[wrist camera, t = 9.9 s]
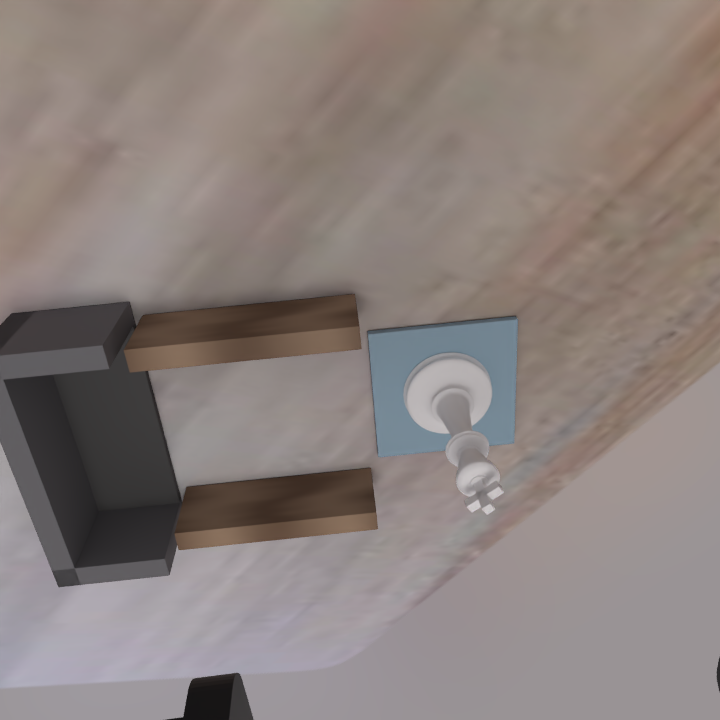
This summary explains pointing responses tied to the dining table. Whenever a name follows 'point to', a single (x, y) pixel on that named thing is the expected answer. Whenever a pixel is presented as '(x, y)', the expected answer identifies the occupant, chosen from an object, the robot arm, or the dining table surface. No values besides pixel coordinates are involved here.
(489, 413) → the pad
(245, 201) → the dining table surface
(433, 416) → the chess piece
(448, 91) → the dining table surface
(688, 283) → the dining table surface
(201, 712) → the robot arm
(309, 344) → the wooden blocks
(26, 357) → the grey channel bracket
